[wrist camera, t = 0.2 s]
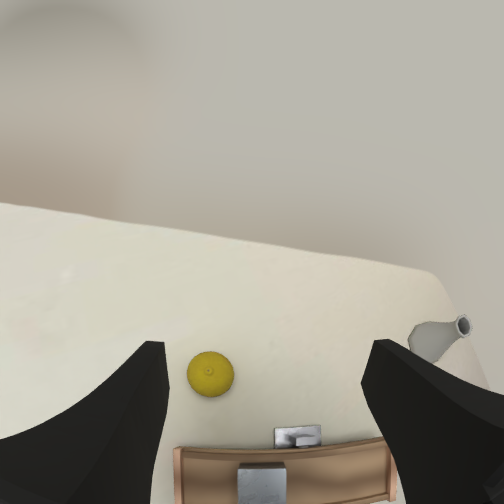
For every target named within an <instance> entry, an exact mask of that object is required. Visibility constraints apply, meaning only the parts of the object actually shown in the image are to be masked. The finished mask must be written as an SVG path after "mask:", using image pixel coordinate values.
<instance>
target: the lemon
mask: <svg viewBox="0 0 504 504" xmlns="http://www.w3.org/2000/svg"><path fill="white" fill-rule="evenodd" d="M187 378H188V381H189V384H190V385H191V387H192V388H193V389H194V390H195V391H196V392H197V393H199V394H201V395H203V396H207V397H215V396H220V395H222V394H224V393H225V392H226V391H227V390H228V389H229V388H230V387H231V385H232V383H233V380H234V371H233V367H232V365H231V363H230V362H229V360H228V359H227V358H226V357H224V356H223V355H222V354H219V353H217V352H211V351H210V352H203V353H200V354H198V355H197V356H195V357H194V358H193V359H192V360H191V362H190V364H189V366H188V370H187Z"/></svg>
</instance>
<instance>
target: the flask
mask: <svg viewBox="0 0 504 504" xmlns="http://www.w3.org/2000/svg"><path fill="white" fill-rule="evenodd" d="M471 331H472V325H471V321H470V319H469V318H468V317H467V316H466V315H465V314H464V315H461V316H459V317H457V319H456V321H454V322H450V323H442V322H426V323H422V324H419V325H416V326H415V328H414V330H413V331H412V333H411V335H410V336H409V338H408V341H409V344H410V348H411V352H413V353H415V354H416V355H418V356H420V357H421V358H423V359H425V360H426V361H428V362H430V363H431V364H432V363H434V362H437V361H438V360H439V359H440V357H441V356H442V355H443V354H444V353H445V351H446V350H447V349H448V348H449V347H450V346H451V345H452V344H453V343H454V342H455V341H456V340H458V339H459V338H460V337H461V338H464V337H467V336H469V335H470V333H471Z"/></svg>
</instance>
